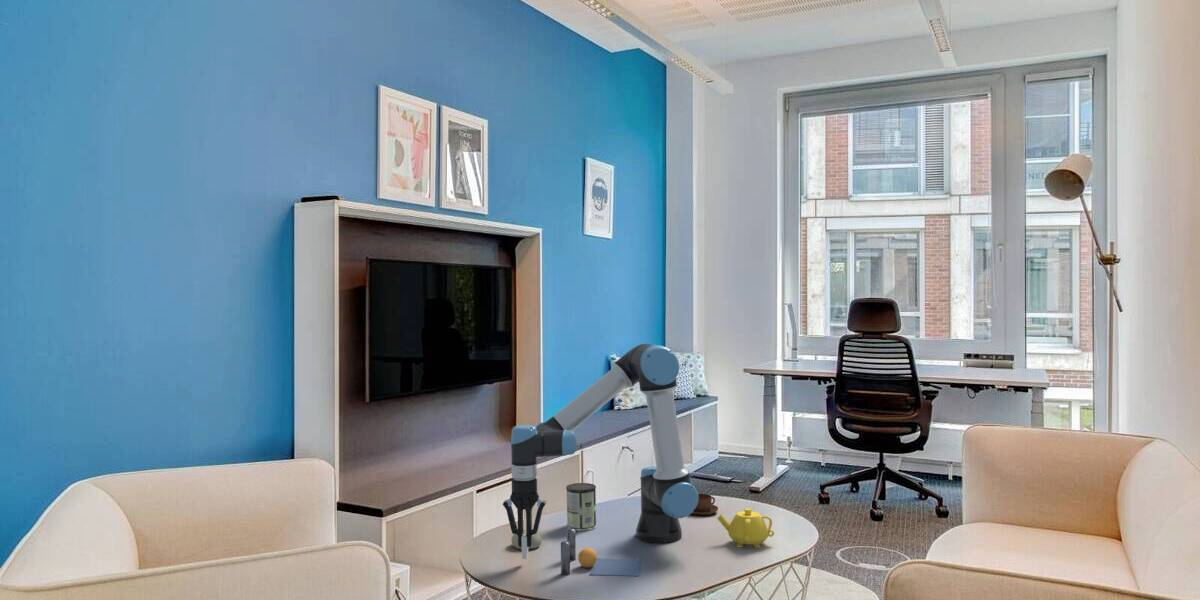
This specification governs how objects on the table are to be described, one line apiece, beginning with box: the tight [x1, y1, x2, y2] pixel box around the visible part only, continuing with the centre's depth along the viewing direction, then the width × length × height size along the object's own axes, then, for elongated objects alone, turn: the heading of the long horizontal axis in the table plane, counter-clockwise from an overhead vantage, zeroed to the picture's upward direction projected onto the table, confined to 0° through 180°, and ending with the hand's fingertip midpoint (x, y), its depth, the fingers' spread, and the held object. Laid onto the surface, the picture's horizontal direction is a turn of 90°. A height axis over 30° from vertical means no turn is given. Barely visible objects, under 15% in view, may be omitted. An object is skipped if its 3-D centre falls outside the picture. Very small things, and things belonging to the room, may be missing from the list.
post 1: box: [560, 540, 571, 576], centre depth 227 cm, size 3×3×9 cm
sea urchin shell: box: [511, 529, 543, 550], centre depth 252 cm, size 9×8×8 cm
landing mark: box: [589, 557, 642, 577], centre depth 232 cm, size 14×14×1 cm
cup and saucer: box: [691, 493, 719, 516], centre depth 290 cm, size 12×12×6 cm
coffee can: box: [565, 482, 597, 532], centre depth 273 cm, size 10×10×14 cm
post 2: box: [566, 528, 577, 562], centre depth 239 cm, size 3×3×9 cm
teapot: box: [716, 507, 775, 548], centre depth 253 cm, size 14×14×11 cm
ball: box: [577, 547, 598, 568], centre depth 232 cm, size 6×6×6 cm
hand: (525, 557), depth 234 cm, fingers closed
